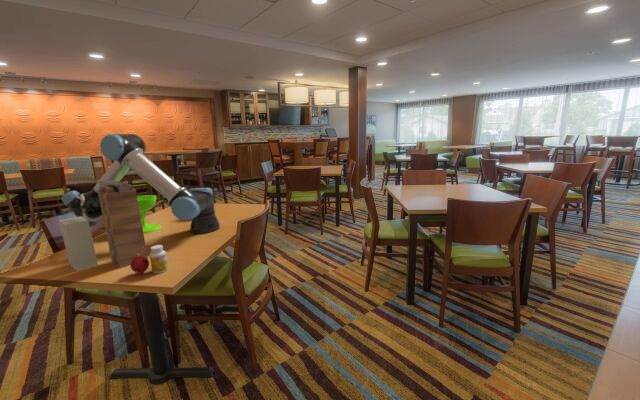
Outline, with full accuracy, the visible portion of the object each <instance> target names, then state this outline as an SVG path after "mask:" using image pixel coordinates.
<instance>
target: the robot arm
mask: <svg viewBox="0 0 640 400" xmlns="http://www.w3.org/2000/svg"><path fill="white" fill-rule="evenodd" d="M146 146H147V145H146V143H145V141H144V140H143V138H141V136H139V135H137V134H134V133H112V134H111V133H110V134H107V135H105V136H104V137H103V138H102V139H101V140H100V144H99V147H100V149H99V150H100V153H101V154H102V156H103V157H104V158H106V159H107V160H110V161H113V162H112V163H111V165H110V166H109V167H108V169H107V170H106V171H105V172H104V174H103V175H102V176H101V178H100V179H99V181H102V180H113V181H118V182H121V180H122V179H123V178H124V176H126V174H127V173H128V171H129V170H130V169H131V170H132V171H133V172H134V173H136V174H137V175H138V176H139V177H140V178H142V179H143V180H144V181H145V182H146V183H148V184H149V185H150V186H151V187H152V188H153V189H154V190H156V191H157V192H158V193H159V194H160V195H161V196H163V197H164V198H165V199H167V205H168V206H169V207H170V209H171V213H172V215H173V216H174V217H175V218H177V220H182V221H189V220H191V222H190V229H189V230H190V232H191V233H192V234H207V233H212V232H216V231H217V230H219V229H221V225H220V221H219V220H218V217H217V216H216V210H215V202H214V201H215V200H214V193H213V189H212V188H211V187H195V188H194V187H193V188H189V189H188V187H185V186H184V187H183V186H180V185H179V184H178V183H177V182H176V181H175V180H173V179H172V178H171V177H170V176H169V175H168V174H166V173H165V172H164V171H163V170H162V169H161V168H160V167H159V166H157V165H156V164H155V163H154V162H153V161H151V160H150V159H149V158H148V157H147V156H146V155H145V152H146V149H147V147H146ZM99 181H98V182H96V184H95V186H93V188H92V189H91V191H90V190H89V191H88V192H84V193H80V192H78V191H77V190H71V191H69V192H66V193H65V194H63V195H62V196H61V201H62V202H63V204H64V205H65V206H66V207H67V208H68V209H69V210H70V211H71V212H72V213H73V215H75V217H80V216H81V217H83V218H85V219H87V220H88V221H89V226H90V229H92V228H94V227H96V226H97V225H98V224H99V222H100V220H101V218H102V217H103V215H102V210H101V205H100V200H99V195H98V191H100V184H99Z"/></svg>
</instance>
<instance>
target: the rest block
mask: <svg viewBox="0 0 640 400" xmlns="http://www.w3.org/2000/svg"><path fill="white" fill-rule="evenodd" d="M58 221H59V226H60V231H61V235H62V239H63V242H64V243H63V244H64V247H65V253H66V255H67V260H68V264H69V265H68V266H69V267H71V268H72V269H73V270H75V272H79V271H81V270H85V269H89V268H92V267H95V266H98V265H99V264H98V259H97V255H96V250H95V246H94V240H93V235H92V231H91V228H90V226H89V221H88V220H87V219H85V218H83V217H81V216H80V217H77V216H75V217H71V218H65V219H60V220H58Z"/></svg>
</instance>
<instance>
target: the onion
mask: <svg viewBox="0 0 640 400" xmlns="http://www.w3.org/2000/svg"><path fill="white" fill-rule="evenodd" d="M149 266H150V261H149V259H147V258H146V257H144V256H141V255H140V254H137V255H136V257H135V258H134V259H133V260H132V262H131V265H130V269H131V270H132V271H133V272H135V273H137V274H139V275H143V274H145V272H146V271H147V270H148V268H149Z"/></svg>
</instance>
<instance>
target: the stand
mask: <svg viewBox="0 0 640 400" xmlns="http://www.w3.org/2000/svg"><path fill="white" fill-rule="evenodd" d="M129 188H130V192H123V193H118V192H115V191H114V188H113V187H109V186H100V191H98V195H99V200H100V205H101V210H102V220H103V224H104V229H105V234H106V239H107V244H108V248H109V254H110V258H111V263H113V264H114V265H116V266H117V267H120V268H124V267H128V266H131V262H132V260H133V259H134V258H135V257H136V255H137V254H140V255H141V256H144V257H146V258H147V259H148V253H147V248H146V247H147V246H146V241H145V240H146V239H145V235H144V234H145V233H144V234H143V228H142V220H141V214H140V211H139V205H138V199H137V196H138V195H137V189H136V188H134V187H133V184H129ZM148 260H149V259H148Z"/></svg>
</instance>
